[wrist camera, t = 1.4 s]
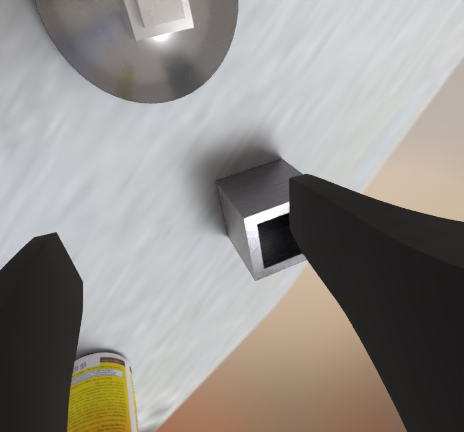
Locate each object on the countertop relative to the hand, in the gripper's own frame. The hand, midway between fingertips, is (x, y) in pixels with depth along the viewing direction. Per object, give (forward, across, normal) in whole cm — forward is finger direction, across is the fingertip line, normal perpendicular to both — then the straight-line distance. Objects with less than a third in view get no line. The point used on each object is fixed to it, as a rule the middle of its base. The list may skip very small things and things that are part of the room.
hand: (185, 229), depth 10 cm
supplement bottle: (+10, +10, +19) cm, 23 cm away
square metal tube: (+11, -5, +7) cm, 14 cm away
